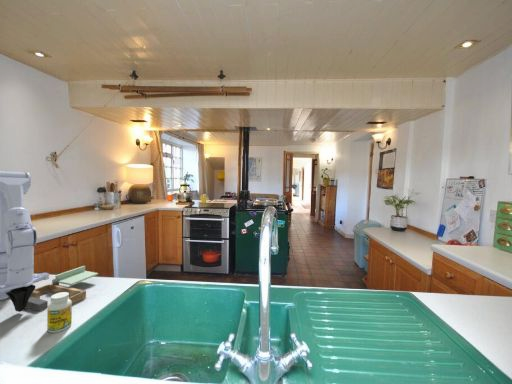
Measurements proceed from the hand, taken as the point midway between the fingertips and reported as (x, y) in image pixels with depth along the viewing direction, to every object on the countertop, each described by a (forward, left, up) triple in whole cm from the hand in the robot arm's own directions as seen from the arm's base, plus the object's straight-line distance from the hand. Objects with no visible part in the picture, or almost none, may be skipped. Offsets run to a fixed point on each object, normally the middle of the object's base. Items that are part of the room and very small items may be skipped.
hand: (20, 310), depth 73 cm
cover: (-3, +19, +2) cm, 20 cm away
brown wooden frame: (+1, +10, -1) cm, 11 cm away
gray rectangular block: (0, +4, -1) cm, 4 cm away
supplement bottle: (+18, -1, -1) cm, 18 cm away
